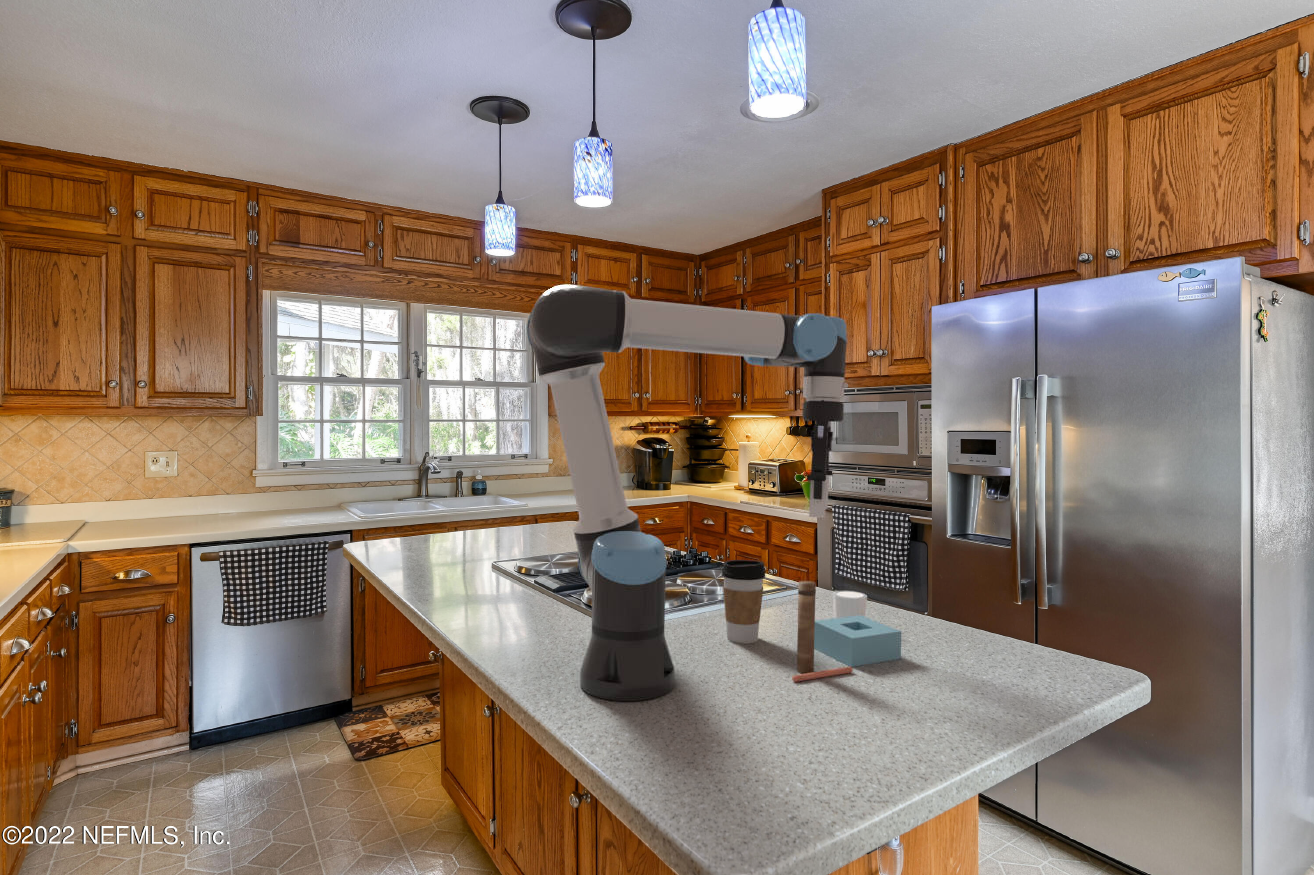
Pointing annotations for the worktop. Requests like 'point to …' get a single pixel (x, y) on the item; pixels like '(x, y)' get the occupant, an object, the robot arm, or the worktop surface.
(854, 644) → the blue square hole block
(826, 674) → the salmon red rod
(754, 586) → the coffee cup
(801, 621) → the round wooden peg
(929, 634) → the worktop surface
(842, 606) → the white cylinder
